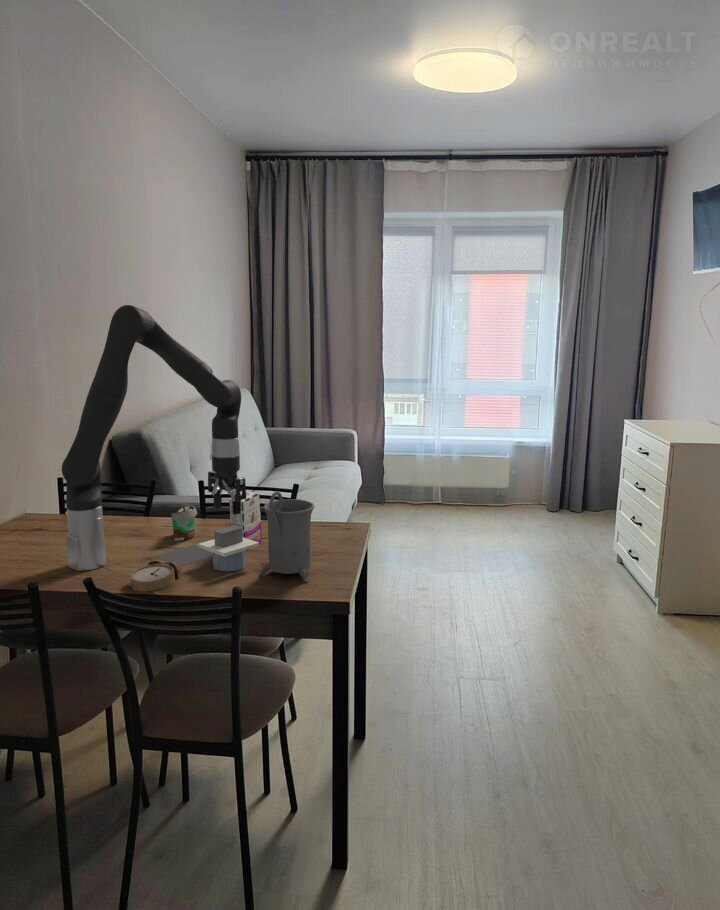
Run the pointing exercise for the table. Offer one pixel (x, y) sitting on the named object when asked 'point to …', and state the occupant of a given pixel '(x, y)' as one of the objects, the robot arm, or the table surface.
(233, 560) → the bowl
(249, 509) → the candy bar box
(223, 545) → the lid
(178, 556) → the mat
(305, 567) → the grey footed pot
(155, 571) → the alarm clock
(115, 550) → the table surface
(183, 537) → the food container
